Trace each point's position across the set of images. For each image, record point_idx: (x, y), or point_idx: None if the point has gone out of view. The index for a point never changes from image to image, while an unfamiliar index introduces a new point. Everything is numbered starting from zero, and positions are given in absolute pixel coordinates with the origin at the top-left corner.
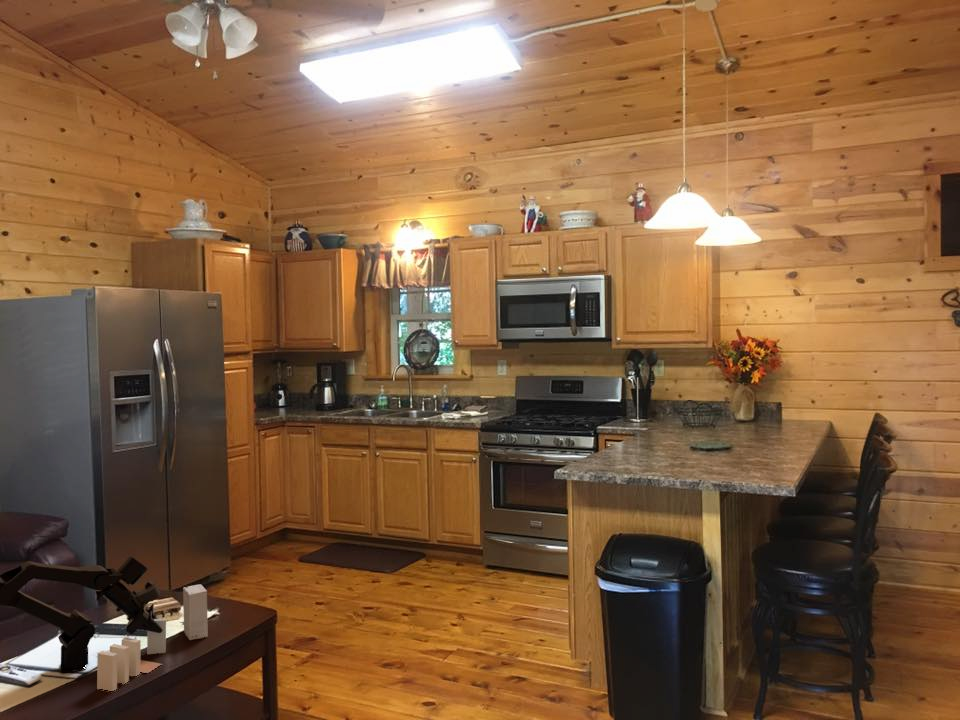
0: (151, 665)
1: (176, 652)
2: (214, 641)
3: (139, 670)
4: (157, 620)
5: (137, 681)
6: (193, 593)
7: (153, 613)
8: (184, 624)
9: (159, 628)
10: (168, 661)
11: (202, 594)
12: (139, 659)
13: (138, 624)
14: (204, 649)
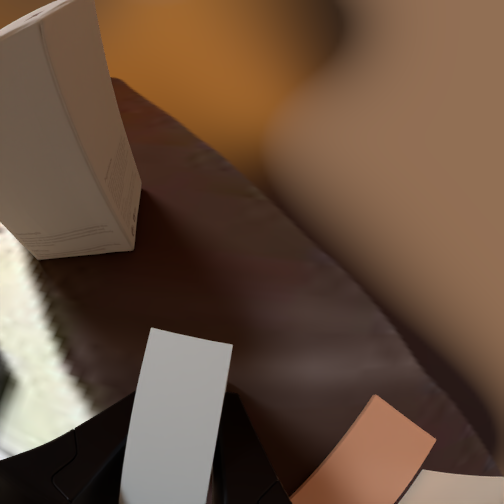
0: (376, 441)
1: (244, 326)
2: (195, 172)
3: (437, 473)
4: (188, 455)
5: (462, 460)
6: (51, 8)
7: (30, 482)
8: (36, 236)
9: (250, 424)
10: (339, 368)
11: (85, 6)
12: (472, 477)
13: None
14: (258, 211)
